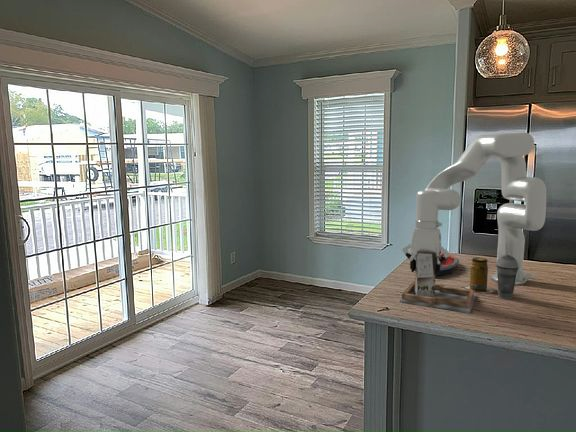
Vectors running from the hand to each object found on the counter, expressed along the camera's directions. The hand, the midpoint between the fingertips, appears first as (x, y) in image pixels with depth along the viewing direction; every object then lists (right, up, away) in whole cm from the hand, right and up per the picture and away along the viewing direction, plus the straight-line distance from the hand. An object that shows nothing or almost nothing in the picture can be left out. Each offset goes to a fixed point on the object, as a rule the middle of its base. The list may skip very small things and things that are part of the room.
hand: (424, 272), depth 157 cm
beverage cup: (+29, -9, 0) cm, 30 cm away
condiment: (+24, -8, +8) cm, 26 cm away
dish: (+18, -4, +37) cm, 41 cm away
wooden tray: (+5, -10, -2) cm, 11 cm away
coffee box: (0, -8, +1) cm, 8 cm away
